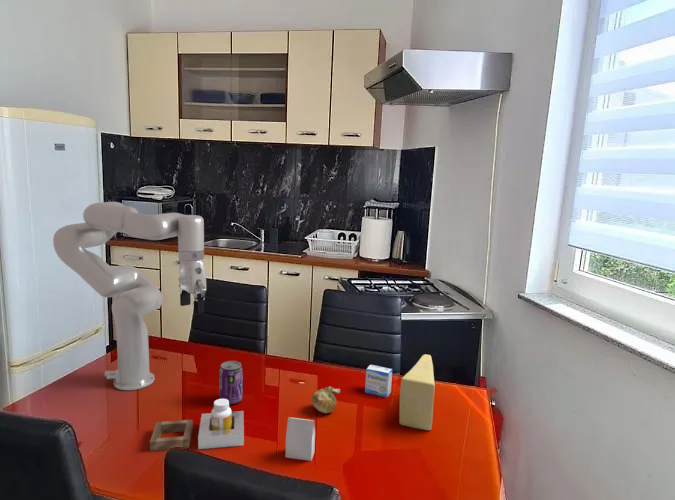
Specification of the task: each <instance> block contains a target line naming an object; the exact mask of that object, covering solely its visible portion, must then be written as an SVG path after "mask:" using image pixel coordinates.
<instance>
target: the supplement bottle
mask: <svg viewBox="0 0 675 500" xmlns="http://www.w3.org/2000/svg"><path fill="white" fill-rule="evenodd" d="M232 412H233V411H232V409H231V407H230V405H229V401H228V400H227V399H216V400H214V402H213V408H212V409H211V412H210V413H211V429H210V431H213V430H226V429H233V428H232Z"/></svg>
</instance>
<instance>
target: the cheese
mask: <svg viewBox="0 0 675 500" xmlns="http://www.w3.org/2000/svg"><path fill="white" fill-rule="evenodd" d="M434 374H435V373H434V363H433V359H432V356H431V354H426V353H425V354H423V355H421V357H420V359H419V360H418V361H417V362H416V364H414V366H412V368H410V370H409V371H408V372H406V373H405V374H404V376H403V377H401V379H400V391H399V412H398V414H399V421H398V422H399V423H398V424H399V425H401V426H406V427H410V428H412V429H419V430H424V431H431V430H432V427H433V418H434V417H433V416H434V400H435V399H434V398H435V388H436V385H435V382H436V381H435V376H434Z"/></svg>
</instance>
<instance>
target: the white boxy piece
mask: <svg viewBox="0 0 675 500" xmlns="http://www.w3.org/2000/svg"><path fill="white" fill-rule="evenodd" d="M286 425H287V426H286V433H285V434H286V435H285V458H287V459H295V460H302V461H310V462H312V460H313V457H314V454H315V445H316V444H315V442H316V427H315V420H313V419H306V418H298V417H290V416H288V417H287V424H286Z"/></svg>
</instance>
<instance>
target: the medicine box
mask: <svg viewBox="0 0 675 500" xmlns="http://www.w3.org/2000/svg"><path fill="white" fill-rule="evenodd" d="M365 370H366V373H365V388H364V393H365V394H367V395H368V394H369V395H373V396H379V397H382V398H386V399H387V398H388V397H389V396H390V394H391V393H392V382H393V381H392V379H393V368H388V367H384V366H380V365H374V364H369V365H368V366H367V368H366V369H365Z"/></svg>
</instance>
